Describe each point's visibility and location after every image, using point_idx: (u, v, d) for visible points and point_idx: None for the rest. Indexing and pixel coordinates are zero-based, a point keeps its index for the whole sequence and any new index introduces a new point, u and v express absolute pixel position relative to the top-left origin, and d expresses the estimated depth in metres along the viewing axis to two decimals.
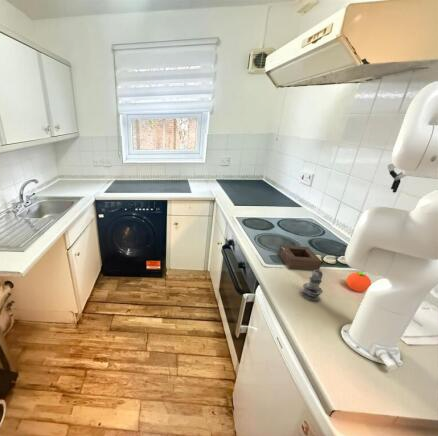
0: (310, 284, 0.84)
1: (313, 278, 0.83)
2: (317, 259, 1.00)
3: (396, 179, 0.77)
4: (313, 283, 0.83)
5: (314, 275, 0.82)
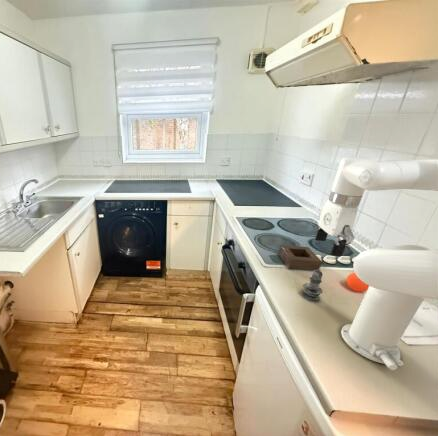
0: (310, 284, 0.84)
1: (313, 278, 0.83)
2: (317, 259, 1.00)
3: (319, 228, 0.82)
4: (313, 283, 0.83)
5: (314, 275, 0.82)
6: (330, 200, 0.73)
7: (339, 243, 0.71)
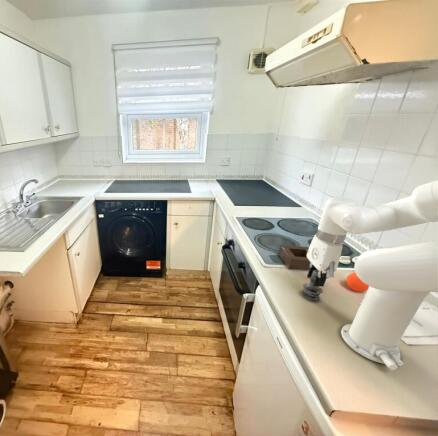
0: (310, 284, 0.84)
1: (313, 278, 0.83)
2: None
3: (311, 267, 0.85)
4: None
5: (314, 275, 0.82)
6: (317, 237, 0.77)
7: (320, 276, 0.79)
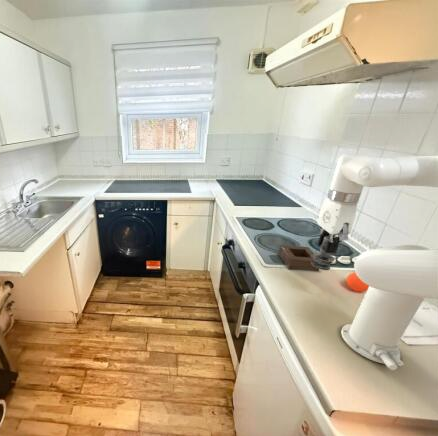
0: (321, 252, 0.79)
1: (324, 245, 0.78)
2: None
3: (321, 233, 0.80)
4: (324, 250, 0.78)
5: (326, 241, 0.77)
6: (329, 198, 0.72)
7: (333, 240, 0.74)
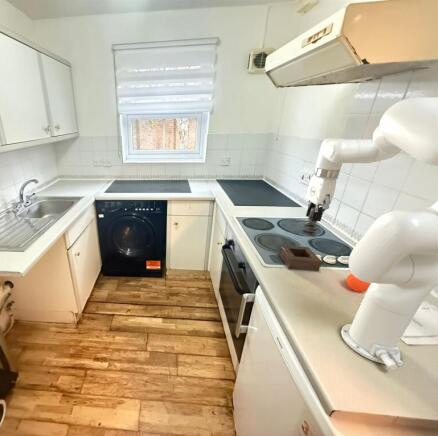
0: (309, 221, 0.95)
1: (311, 214, 0.94)
2: (317, 259, 1.00)
3: (309, 206, 0.96)
4: None
5: (312, 212, 0.93)
6: (314, 175, 0.88)
7: (317, 210, 0.90)
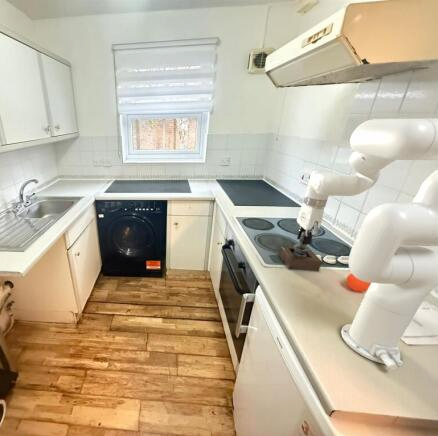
0: (299, 243, 1.02)
1: (302, 238, 1.01)
2: (317, 259, 1.00)
3: (300, 229, 1.03)
4: None
5: (302, 235, 1.01)
6: (304, 203, 0.96)
7: (307, 235, 0.98)
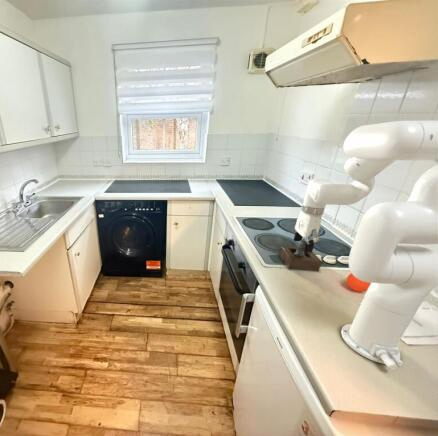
0: (297, 252, 1.04)
1: (299, 246, 1.03)
2: (317, 259, 1.00)
3: (296, 231, 1.07)
4: (299, 251, 1.03)
5: (300, 244, 1.02)
6: (302, 210, 0.97)
7: (309, 243, 0.96)
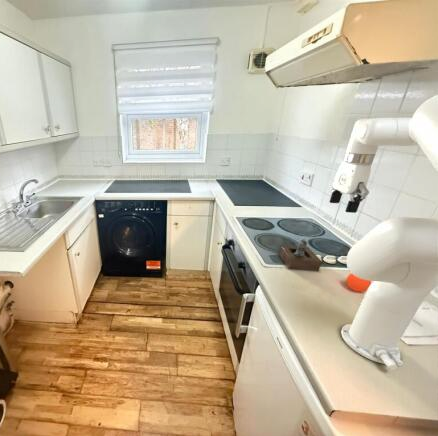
0: (297, 252, 1.04)
1: (299, 246, 1.03)
2: (317, 259, 1.00)
3: (333, 191, 0.89)
4: (299, 251, 1.03)
5: (300, 244, 1.02)
6: (345, 161, 0.79)
7: (354, 199, 0.78)
